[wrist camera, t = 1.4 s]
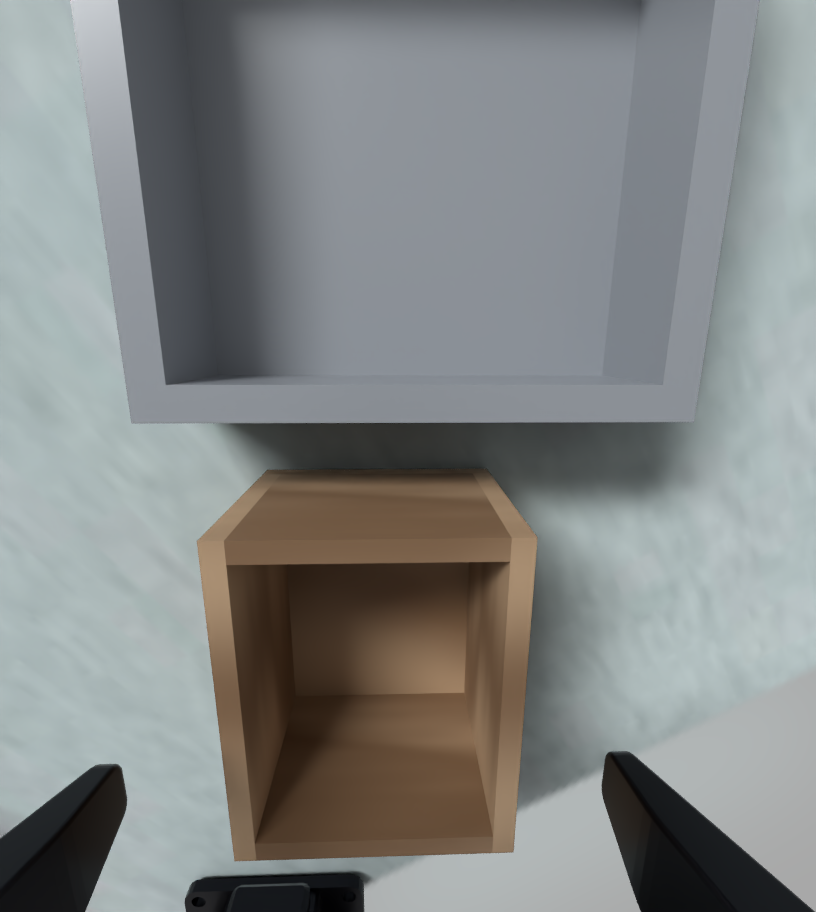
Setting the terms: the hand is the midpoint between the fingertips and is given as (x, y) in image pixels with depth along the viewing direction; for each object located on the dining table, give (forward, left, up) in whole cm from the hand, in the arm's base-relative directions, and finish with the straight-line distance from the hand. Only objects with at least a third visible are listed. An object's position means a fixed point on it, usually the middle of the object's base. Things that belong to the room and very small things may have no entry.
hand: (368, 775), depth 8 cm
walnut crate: (0, 0, -6) cm, 6 cm away
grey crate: (+12, -1, -6) cm, 14 cm away
